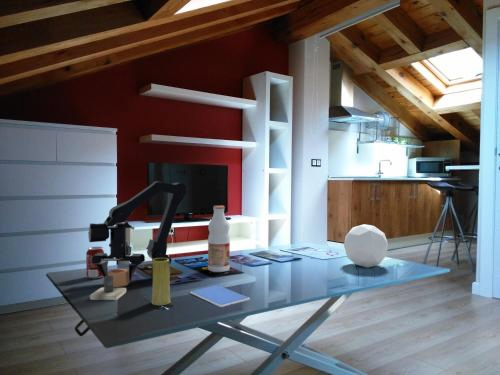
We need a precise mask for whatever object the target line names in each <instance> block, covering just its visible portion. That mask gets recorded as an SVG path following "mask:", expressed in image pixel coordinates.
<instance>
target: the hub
mask: <svg viewBox="0 0 500 375" xmlns="http://www.w3.org/2000/svg"><path fill="white" fill-rule="evenodd" d="M108 276H113V288H122V287H125V286H128V285H129V284H130V281H129V269H126V268H115V269H110V270H108Z"/></svg>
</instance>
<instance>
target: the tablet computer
mask: <svg viewBox="0 0 500 375" xmlns="http://www.w3.org/2000/svg"><path fill="white" fill-rule="evenodd" d="M189 293H190V294H191V295H194V296H195V297H198V298H199V299H201V300H204V301H206V302H209V303H210V304H212V305H214V306H216V307H219V308H224V307H228V306H232V305H236V304H239V303H244V302H247V301H250V300H251V299H250V297H249V296H245V295H244V294H240V293H238V292H237V291H234V290H231V289H228V288H226V287H223V286H220V285H212V286H208V287H203V288H198V289H194V290H191V291H190V292H189Z"/></svg>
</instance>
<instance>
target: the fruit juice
mask: <svg viewBox="0 0 500 375" xmlns="http://www.w3.org/2000/svg"><path fill="white" fill-rule="evenodd" d="M212 208H213V216H212V218H211V220H210V221H209V222H208V231H209V234H208V237H207V238H208V240H207V260H208V261H207V262H208V263H207V269H208V271H210V272H212V273H213V272H214V273H222V272H228V271H229V270H230V269H231V268H230V264H231V263H230V260H231V259H230V257H231V255H230V254H231V252H230V250H231V248H230V246H231V244H230V242H231V240H230V239H231V238H230V234H229V230H230V223H229V221H228V220H227V219H226V215H225V208H226V206H225V205H213V206H212Z"/></svg>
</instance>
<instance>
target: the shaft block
mask: <svg viewBox="0 0 500 375" xmlns="http://www.w3.org/2000/svg"><path fill="white" fill-rule="evenodd" d="M126 293H127V287H113V276H105V277H103V287H100V288H98V289H97V290H95V291H94V292H92V293H91V294H90V295H89V300H91V301H92V300H93V301H94V300H95V301H99V300H100V301H101V300H102V301H118V300H119V299H120V298H121V297H123V296H124V294H126Z"/></svg>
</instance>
